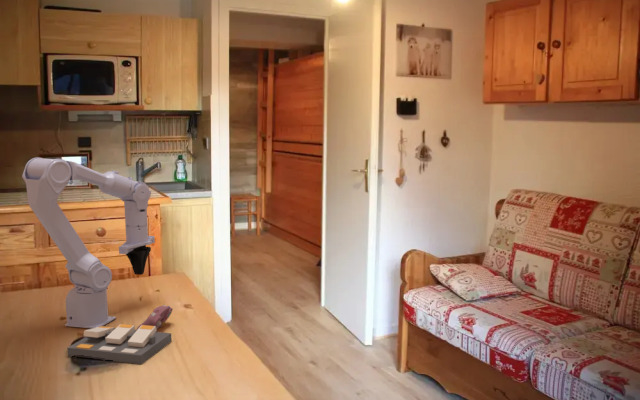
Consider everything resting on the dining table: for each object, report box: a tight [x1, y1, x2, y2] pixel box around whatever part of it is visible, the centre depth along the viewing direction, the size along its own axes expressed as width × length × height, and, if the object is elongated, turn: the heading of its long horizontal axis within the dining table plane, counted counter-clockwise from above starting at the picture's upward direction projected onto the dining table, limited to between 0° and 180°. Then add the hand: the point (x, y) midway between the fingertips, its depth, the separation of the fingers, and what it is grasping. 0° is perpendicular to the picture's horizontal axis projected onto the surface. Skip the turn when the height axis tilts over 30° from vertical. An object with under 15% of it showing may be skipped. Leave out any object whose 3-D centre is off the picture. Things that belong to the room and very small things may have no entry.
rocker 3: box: [128, 324, 158, 347], centre depth 127 cm, size 4×6×1 cm, turn 166°
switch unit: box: [66, 327, 172, 365], centre depth 129 cm, size 18×13×4 cm
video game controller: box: [136, 304, 173, 331], centre depth 141 cm, size 10×5×7 cm, turn 170°
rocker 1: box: [83, 325, 115, 338], centre depth 130 cm, size 4×6×1 cm, turn 166°
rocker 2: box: [105, 323, 136, 344], centre depth 129 cm, size 4×6×1 cm, turn 166°
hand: (139, 274), depth 157 cm, fingers closed
